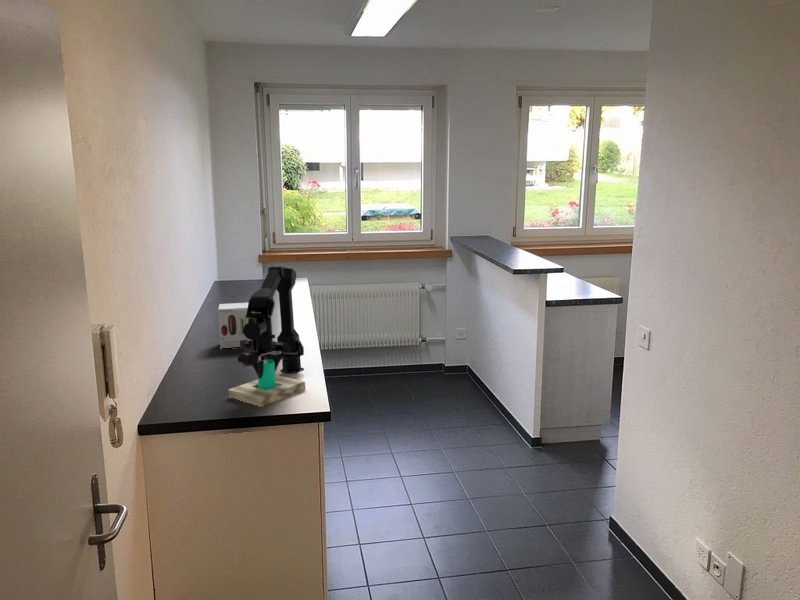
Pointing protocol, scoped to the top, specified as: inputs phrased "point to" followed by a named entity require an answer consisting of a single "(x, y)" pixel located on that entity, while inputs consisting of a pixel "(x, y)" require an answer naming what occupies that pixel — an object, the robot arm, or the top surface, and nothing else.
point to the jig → (266, 391)
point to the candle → (267, 375)
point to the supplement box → (232, 324)
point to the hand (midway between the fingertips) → (266, 377)
